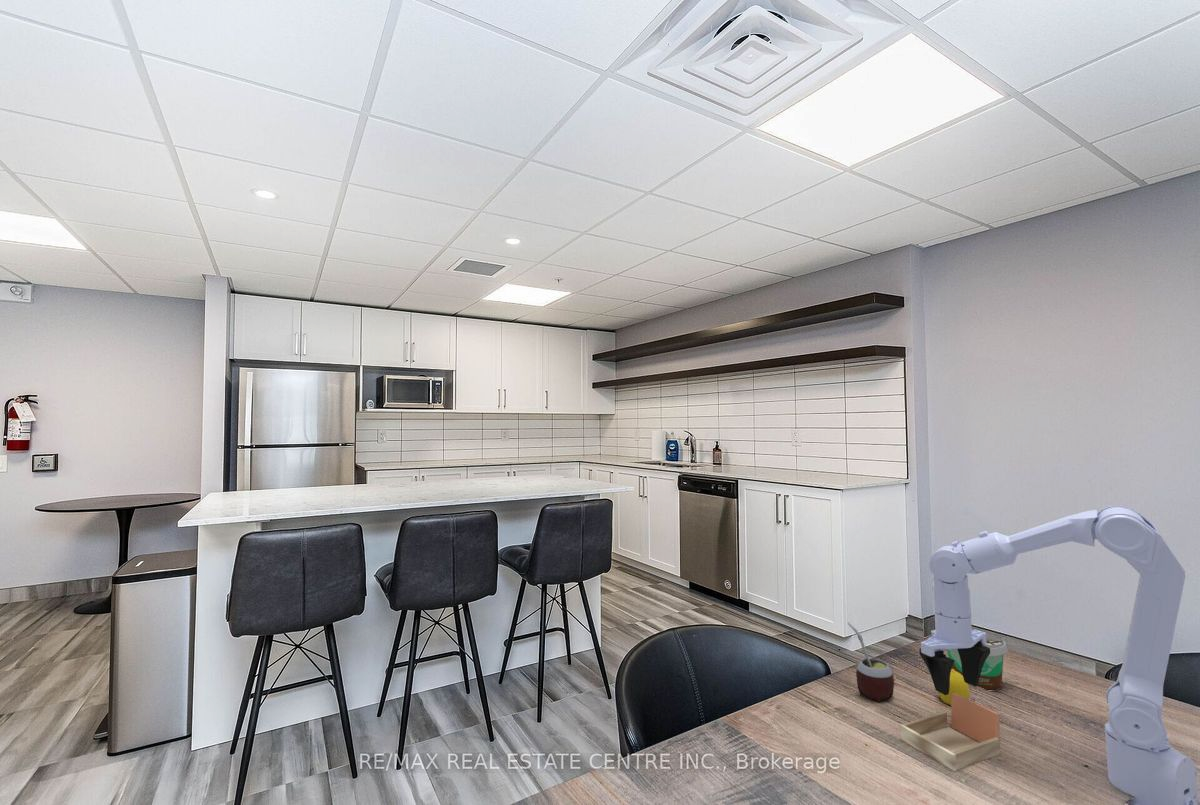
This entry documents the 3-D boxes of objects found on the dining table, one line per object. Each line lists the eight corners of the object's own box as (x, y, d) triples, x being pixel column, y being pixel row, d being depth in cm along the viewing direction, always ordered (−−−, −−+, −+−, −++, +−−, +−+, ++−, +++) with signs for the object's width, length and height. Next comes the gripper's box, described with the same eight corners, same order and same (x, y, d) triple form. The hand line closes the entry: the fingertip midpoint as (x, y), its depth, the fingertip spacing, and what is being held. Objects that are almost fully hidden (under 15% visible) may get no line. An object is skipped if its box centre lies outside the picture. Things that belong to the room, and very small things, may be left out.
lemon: (975, 717, 108) (973, 676, 108) (944, 715, 109) (942, 674, 109) (963, 703, 113) (961, 664, 114) (933, 701, 115) (931, 662, 115)
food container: (953, 690, 119) (950, 643, 119) (944, 677, 125) (942, 633, 125) (1019, 696, 115) (1017, 648, 116) (1007, 683, 121) (1005, 637, 122)
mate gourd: (898, 712, 111) (895, 637, 111) (856, 708, 113) (852, 634, 113) (890, 695, 118) (886, 624, 118) (850, 691, 120) (847, 621, 120)
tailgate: (995, 750, 95) (996, 714, 95) (950, 727, 102) (951, 693, 103) (998, 749, 95) (1000, 713, 96) (954, 726, 103) (955, 693, 103)
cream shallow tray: (1000, 762, 94) (999, 738, 94) (954, 780, 90) (953, 755, 90) (944, 732, 103) (943, 711, 103) (900, 747, 99) (899, 725, 99)
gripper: (959, 601, 108) (963, 671, 107) (904, 612, 102) (908, 686, 102) (996, 612, 101) (1000, 687, 100) (939, 624, 96) (944, 704, 95)
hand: (956, 688), depth 101 cm, fingers open, 7 cm apart
